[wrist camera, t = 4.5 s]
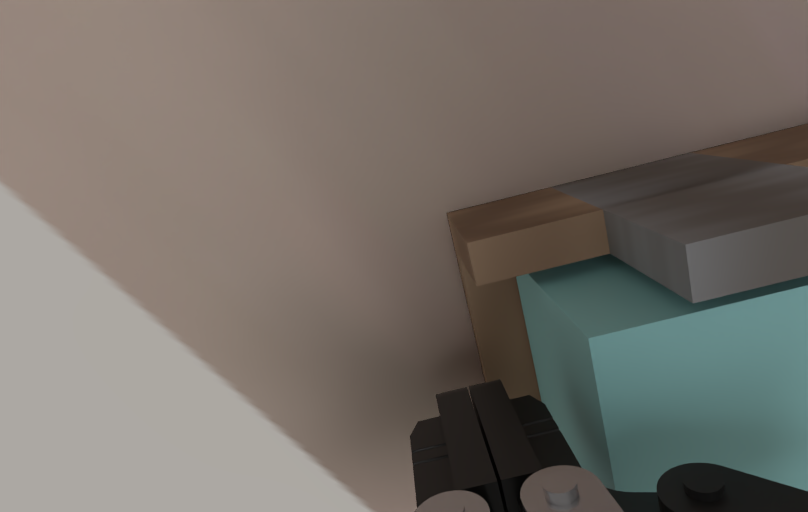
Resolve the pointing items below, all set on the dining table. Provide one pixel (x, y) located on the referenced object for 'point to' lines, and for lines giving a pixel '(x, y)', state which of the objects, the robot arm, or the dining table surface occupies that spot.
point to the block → (670, 373)
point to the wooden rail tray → (638, 235)
